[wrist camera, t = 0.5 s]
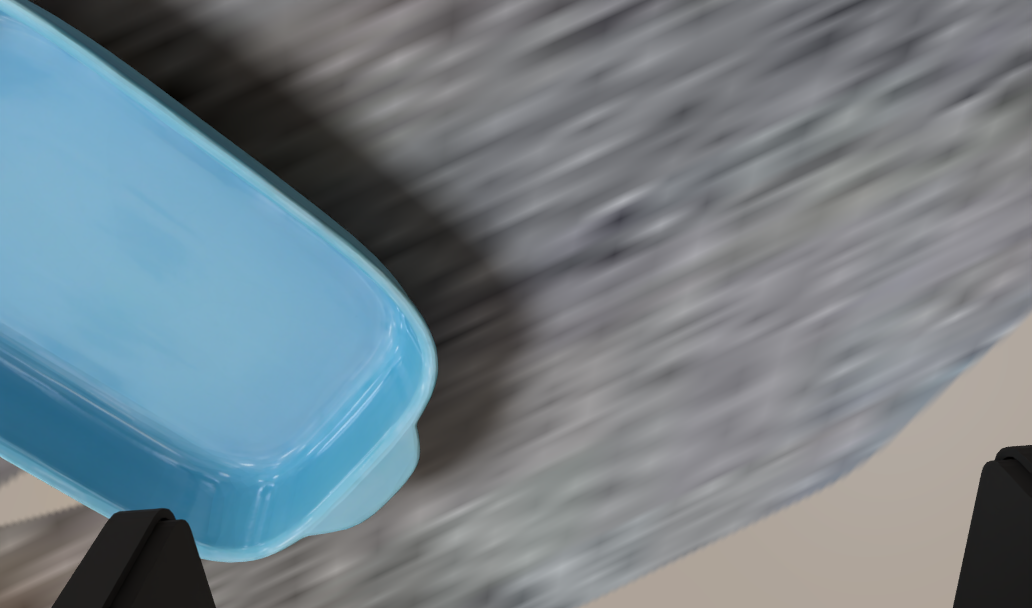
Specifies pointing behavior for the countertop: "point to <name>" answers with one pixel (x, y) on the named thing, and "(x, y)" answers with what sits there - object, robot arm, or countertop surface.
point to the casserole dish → (187, 314)
